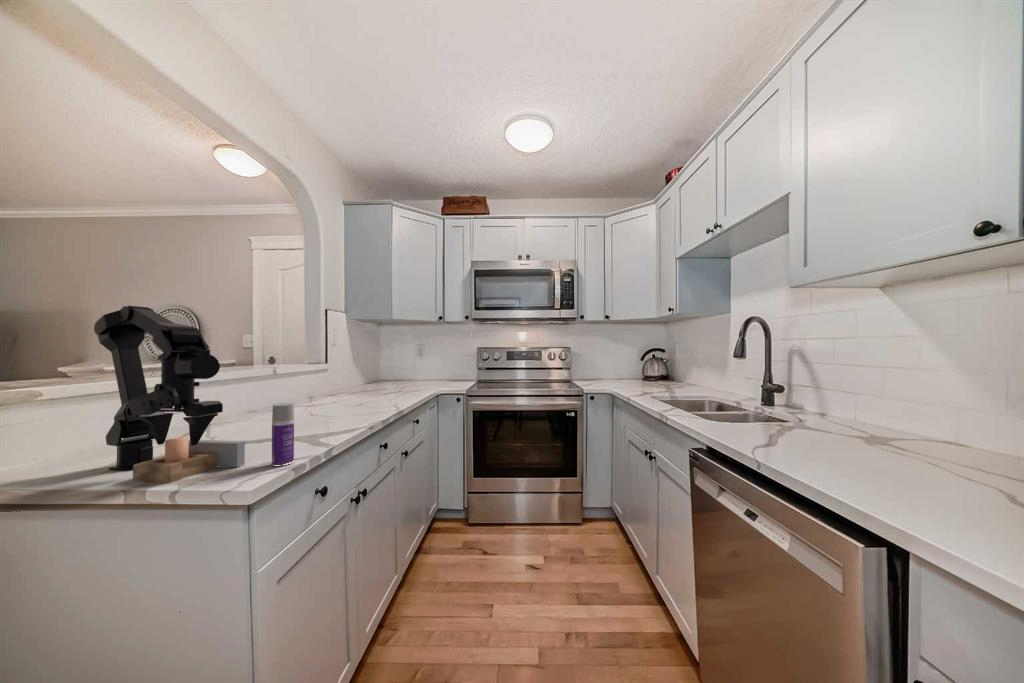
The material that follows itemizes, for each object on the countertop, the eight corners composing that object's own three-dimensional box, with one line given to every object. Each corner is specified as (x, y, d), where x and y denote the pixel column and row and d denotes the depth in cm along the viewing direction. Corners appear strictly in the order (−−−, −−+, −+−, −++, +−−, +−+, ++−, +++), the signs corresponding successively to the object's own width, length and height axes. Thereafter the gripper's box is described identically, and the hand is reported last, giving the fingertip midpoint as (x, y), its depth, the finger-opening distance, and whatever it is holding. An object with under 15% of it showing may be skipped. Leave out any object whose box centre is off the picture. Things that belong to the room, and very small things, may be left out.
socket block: (132, 480, 77) (133, 464, 77) (181, 465, 87) (181, 451, 87) (170, 482, 76) (170, 466, 76) (215, 467, 86) (216, 453, 86)
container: (285, 466, 85) (286, 405, 86) (267, 466, 85) (267, 406, 86) (297, 460, 90) (298, 403, 90) (280, 461, 90) (280, 403, 90)
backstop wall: (181, 465, 87) (181, 441, 87) (190, 463, 89) (190, 439, 89) (237, 467, 85) (237, 443, 85) (244, 465, 87) (244, 441, 87)
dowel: (159, 476, 80) (160, 441, 80) (178, 470, 84) (179, 436, 84) (174, 476, 79) (175, 441, 79) (192, 470, 83) (193, 437, 83)
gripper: (101, 381, 75) (99, 453, 75) (174, 381, 73) (173, 456, 72) (160, 377, 86) (158, 440, 86) (225, 377, 84) (224, 442, 83)
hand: (177, 444), depth 82 cm, fingers open, 9 cm apart
